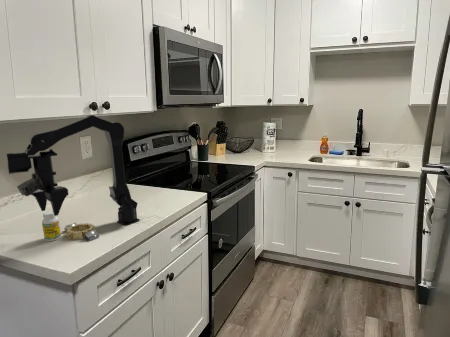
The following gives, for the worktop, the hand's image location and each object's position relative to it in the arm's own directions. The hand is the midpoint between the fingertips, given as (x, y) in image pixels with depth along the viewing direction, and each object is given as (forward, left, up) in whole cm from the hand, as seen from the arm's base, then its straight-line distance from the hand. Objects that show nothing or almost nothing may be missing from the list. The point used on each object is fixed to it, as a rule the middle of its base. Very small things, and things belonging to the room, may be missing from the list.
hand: (49, 213), depth 122 cm
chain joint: (-8, +5, -10) cm, 13 cm away
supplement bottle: (0, 0, -10) cm, 10 cm away
